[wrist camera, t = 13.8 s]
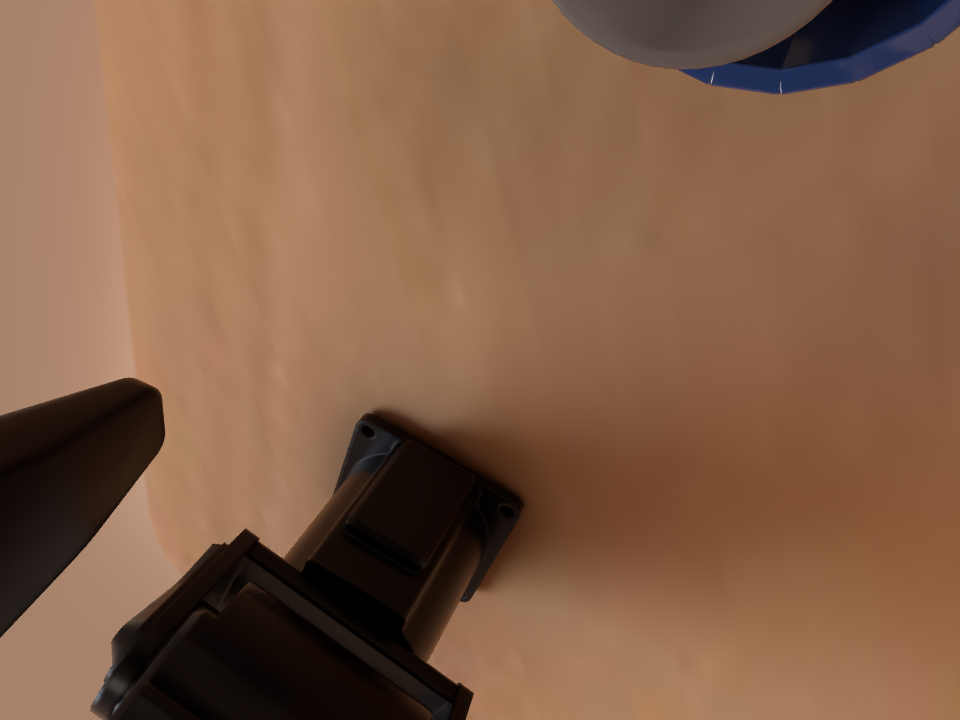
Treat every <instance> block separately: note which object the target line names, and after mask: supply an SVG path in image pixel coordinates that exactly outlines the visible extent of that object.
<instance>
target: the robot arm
mask: <svg viewBox="0 0 960 720" xmlns="http://www.w3.org/2000/svg"><path fill="white" fill-rule="evenodd" d="M370 427H371V428H372V429H373V430H372V429H371V428H370ZM164 438H165V425H164V414H163V403H162V396H161V393H160V392H159V390H158V389H157V388H155V387H153V386H151V385H149V384H147V383H144V382H142V381H140V380H138V379H135V378H123V379H119V380H116V381H113V382H109V383H106V384H103V385H100V386H96V387H93V388H90V389H87V390H83V391H80V392H76V393H73V394H70V395H67V396H63V397H60V398H57V399H54V400H50V401H47V402H44V403H40V404H37V405H34V406H30V407H27V408H24V409H20V410H17V411H14V412H11V413H8V414H4V415H1V416H0V638H1V636H2V635H3V634H4V633H5V632H6V631H7V630H8V629H9V628H10V627H11V626H12V625H13V624H14V623H15V621H17V619H18V618H19V617H20V616H21V615H22V614H23V613H24V612H25V611H26V610H27V609H28V608H29V607H30V606H31V605H32V604H33V603H34V601H35V600H36V599H37V598H38V597H39V596H40V595H41V594H42V593H43V592H44V591H45V590H46V589H47V588H48V587H49V586H50V584H51V583H52V582H53V581H54V580H55V579H56V578H57V577H58V576H59V575H60V574H61V573H62V572H63V571H64V570H65V569H66V568H67V566H68V565H69V564H70V563H71V562H72V561H73V560H74V559H75V558H76V557H77V556H78V554H79V553H80V552H81V551H82V550H83V549H84V548H85V547H86V546H87V544H88V543H89V542H90V541H91V539H92V538H93V537H94V536H95V535H96V533H97V532H98V531H99V530H100V528H101V527H102V526H103V524H104V523H105V522H106V520H107V519H108V518H109V516H110V515H111V514H112V512H113V511H114V510H115V509H116V507H117V506H118V505H119V503H120V502H121V501H122V499H123V498H124V497H125V496H126V494H127V493H128V492H129V490H130V489H131V488H132V486H133V485H134V484H135V482H136V481H137V480H138V479H139V477H140V476H141V475H142V473H143V472H144V471H145V469H146V468H147V467H148V465H149V464H150V463H151V462H152V460H153V459H154V458H155V456H156V455H157V454H158V452H159V451H160V449H161V447H162V445H163V442H164ZM507 506H509V507H510V508H508V507H507ZM523 509H524V504H523V502H522V500H521V499H520V498H519V497H518V496H517V495H515V494H513V493H512V492H510V491H508V490H506V489H505V488H503V487H501V486H499V485H498V484H496V483H494V482H492V481H491V480H489V479H487V478H485V477H484V476H482V475H480V474H478V473H477V472H475V471H473V470H471V469H470V468H468V467H466V466H464V465H463V464H461V463H459V462H457V461H456V460H454V459H452V458H450V457H449V456H447V455H445V454H443V453H442V452H440V451H438V450H436V449H435V448H433V447H431V446H429V445H428V444H426V443H424V442H422V441H421V440H419V439H417V438H416V437H414V436H412V435H410V434H409V433H407V432H405V431H403V430H402V429H400V428H398V427H396V426H395V425H393V424H391V423H389V422H388V421H386V420H384V419H382V418H381V417H379V416H377V415H375V414H371V413H367V414H365V415H363V416H362V418H361V419H360V420H359V421H358V422H357V424H356V426H355V429H354V432H353V435H352V438H351V442H350V445H349V448H348V451H347V454H346V457H345V460H344V463H343V466H342V469H341V472H340V475H339V479H338V482H337V485H336V488H335V491H334V494H333V497H332V498H331V499H330V500H329V502H328V503H327V504H326V505H325V507H324V508H323V509H322V510H321V512H320V513H319V514H318V515H317V517H316V518H315V519H314V520H313V522H312V523H311V524H310V526H309V527H308V528H307V529H306V531H305V532H304V533H303V534H302V536H301V537H300V538H299V539H298V541H297V542H296V543H295V544H294V546H293V547H292V548H291V549H290V551H289V552H288V553H287V555H286V556H285V557H284V558H283V559H282V558H281V557H280V556H278V555H277V554H275V553H274V552H273V551H271V550H270V549H269V548H267V547H266V546H264V545H263V544H262V543H260V542H259V539H260V538H258V537H257V536H256V535H254V534H253V533H251V532H250V531H249V530H247V529H244V530H243V531H242V532H241V533H240V534H239V535H238V536H237V537H236V538H235V539H234V540H233V541H232V542H231V543H230V544H229V545H228V544H226V543H225V542H224V543H223V544H222V545H220V544H212V546H211V547H210V548H209V549H208V550H207V551H206V552H205V553H204V554H203V556H202V557H201V558H200V559H199V560H198V561H197V562H196V563H195V564H194V565H193V567H192V568H191V569H190V570H189V571H188V572H187V573H186V574H185V575H184V576H183V577H182V578H181V579H180V580H179V581H178V582H177V583H176V584H175V585H174V586H173V587H171V588H170V589H169V590H168V591H166V592H165V593H164V594H163V595H161V596H160V597H159V598H157V599H156V600H155V601H154V602H152V603H151V604H150V605H149V606H147V607H146V608H145V609H144V610H142V611H141V612H140V613H139V614H137V615H136V616H135V617H133V618H132V619H131V620H130V621H128V622H127V623H126V624H125V625H124V626H123V627H122V628H121V629H120V630H119V631H118V633H117V634H116V635H115V637H114V638H113V640H112V642H111V644H112V667H111V668H110V670H109V671H108V673H107V675H106V677H105V679H104V682H105V684H104V685H103V687H102V688H101V690H100V691H99V693H98V695H97V696H96V698H95V700H94V701H93V704H92V706H91V712H93V713H94V714H95V715H97V716H98V717H99V718H101V719H103V720H466V717H467V713H468V710H469V707H470V704H471V701H472V698H473V694H474V693H473V692H472V691H470V690H469V689H468V688H466V687H465V686H464V685H462V684H461V683H458V684H456V683H454V682H453V681H451V680H450V679H449V678H447V677H446V676H445V675H443V674H442V673H440V672H439V671H438V670H436V669H435V668H433V667H432V666H431V665H429V664H428V663H427V661H428V660H429V658H430V656H431V654H432V652H433V650H434V648H435V646H436V645H437V643H438V641H439V639H440V637H441V635H442V633H443V631H444V629H445V628H446V626H447V624H448V622H449V620H450V618H451V616H452V614H453V613H454V611H455V609H456V607H457V605H458V603H459V601H461V602H468V601H469V600H470V599H471V597H472V596H473V594H474V593H475V591H476V589H477V588H478V586H479V584H480V583H481V581H482V579H483V578H484V576H485V574H486V573H487V571H488V569H489V568H490V566H491V564H492V563H493V561H494V559H495V558H496V556H497V554H498V553H499V551H500V549H501V548H502V546H503V544H504V543H505V541H506V539H507V538H508V536H509V534H510V533H511V531H512V529H513V528H514V526H515V524H516V523H517V521H518V519H519V518H520V516H521V514H522V512H523Z"/></svg>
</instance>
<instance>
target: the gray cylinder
mask: <svg viewBox="0 0 960 720" xmlns="http://www.w3.org/2000/svg"><path fill="white" fill-rule="evenodd" d="M552 1H553V2H554V3H555V5H556V6H557V7H558V9H559V10H560V11H561V13H562V14H563V15H564V16H565V17H566V18H567V19H568V20H569V21H570V22H571V23H572V24H573V25H574V26H575V27H576V28H577V29H578V30H579V31H581V32H582V33H583V34H585V35H586V36H587V37H588V38H590V39H591V40H592V41H593V42H595V43H597V44H598V45H600V46H602V47H603V48H605V49H607V50H609V51H610V52H612V53H614V54H617V55H619V56H621V57H624V58H626V59H629V60H631V61H634V62H638V63H641V64H645V65H649V66H653V67H661V68H669V69H701V68H707V67H714V66H721V65H724V64H728V63H732V62H735V61H739V60H742V59H745V58H747V57H750V56H752V55H755V54H757V53H759V52H762V51H764V50H767V49H768V48H770V47H772V46H774V45H775V44H777V43H779V42H781V41H782V40H784V39H786V38H788V37H789V36H791V35H792V34H793V33H795V32H796V31H798V30H799V29H800V28H802V27H803V26H804V25H806V24H807V23H808V22H810V21H811V20H812V19H813V18H814V17H815V16H816V15H818V14H819V13H820V12H821V11H822V10H823V9H824V8H825V7H826V6H827V5H828V4H829V3H831V2H832V0H552Z"/></svg>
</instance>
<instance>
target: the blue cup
mask: <svg viewBox="0 0 960 720" xmlns="http://www.w3.org/2000/svg"><path fill="white" fill-rule="evenodd" d="M959 26H960V0H832V2H831V3H829V4H828V5H827V6H826V7H825V8H824V9H823V10H822V11H821V12H820V13H819V14H818V15H816V16H815V17H814V18H813V19H812V20H811V21H810V22H808V23H807V24H806V25H804V26H803V27H802V28H800V29H799V30H798V31H796V32H795V33H793V34H792V35H791V36H789V37H788V38H786V39H784V40H782V41H781V42H779V43H777V44H775V45H774V46H772V47H770V48H768V49H767V50H764V51H762V52H759V53H757V54H755V55H752V56H750V57H747V58H745V59H742V60H739V61H735V62H732V63H728V64H724V65H721V66H714V67H707V68H701V69H677V70H679V71H681V72H683V73H685V74H687V75H690V76H692V77H694V78H696V79H698V80H700V81H702V82H704V83H706V84H710V85H712V86H718V87H725V88H732V89H739V90H746V91H753V92H761V93H768V94H775V95H777V94H779V93H780V94H782V95H784V94H790V93H796V92H802V91H808V90H815V89H821V88H827V87H833V86H839V85H845V84H851V83H854V82H856V81H861V80H863V79H865V78H868V77H870V76H872V75H874V74H876V73H878V72H881V71H883V70H885V69H887V68H889V67H891V66H893V65H896V64H898V63H900V62H902V61H904V60H906V59H908V58H911V57H913V56H915V55H917V54H919V53H921V52H924V51H926V50H928V49H930V48H932V47H933V46H934V45H935V44H938V43H940V42H941V41H942V40H944V39H945V38H946V37H947V36H948V35H950V34H951V33H952V32H953V31H955V30H956V29H957V28H958V27H959Z"/></svg>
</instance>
